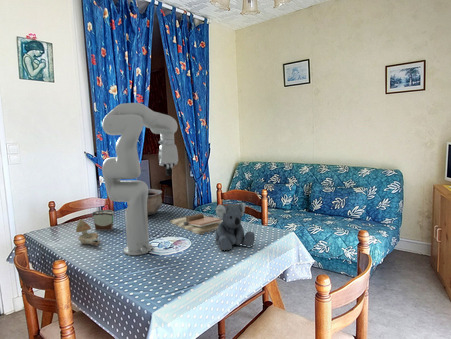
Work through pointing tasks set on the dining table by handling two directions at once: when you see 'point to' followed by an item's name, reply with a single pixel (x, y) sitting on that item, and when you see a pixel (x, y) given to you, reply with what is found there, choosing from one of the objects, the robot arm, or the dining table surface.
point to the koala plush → (232, 227)
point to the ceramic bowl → (153, 201)
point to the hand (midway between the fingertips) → (169, 175)
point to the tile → (204, 221)
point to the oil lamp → (86, 234)
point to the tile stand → (196, 229)
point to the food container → (103, 219)
